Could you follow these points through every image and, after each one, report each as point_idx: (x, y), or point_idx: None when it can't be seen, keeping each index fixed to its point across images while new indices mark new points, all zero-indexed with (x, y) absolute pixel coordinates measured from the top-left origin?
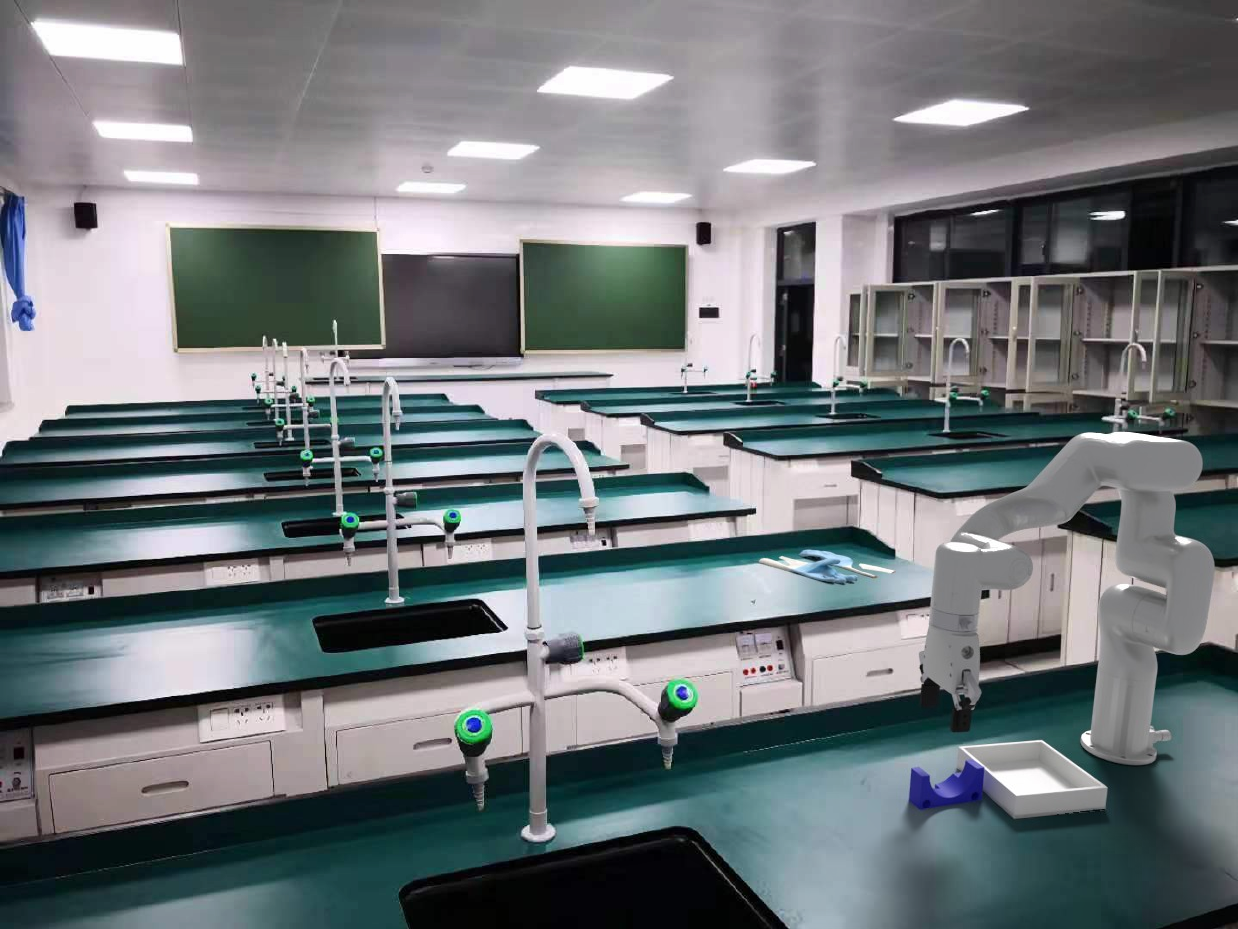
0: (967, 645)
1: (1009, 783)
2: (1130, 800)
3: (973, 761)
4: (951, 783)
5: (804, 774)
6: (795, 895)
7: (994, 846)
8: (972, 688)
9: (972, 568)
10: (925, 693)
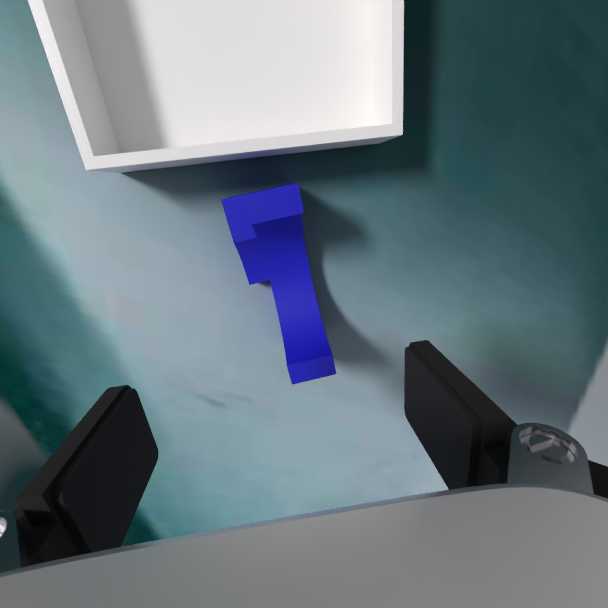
0: None
1: (221, 57)
2: None
3: (257, 201)
4: (260, 252)
5: (192, 483)
6: None
7: (462, 243)
8: None
9: None
10: (124, 514)
